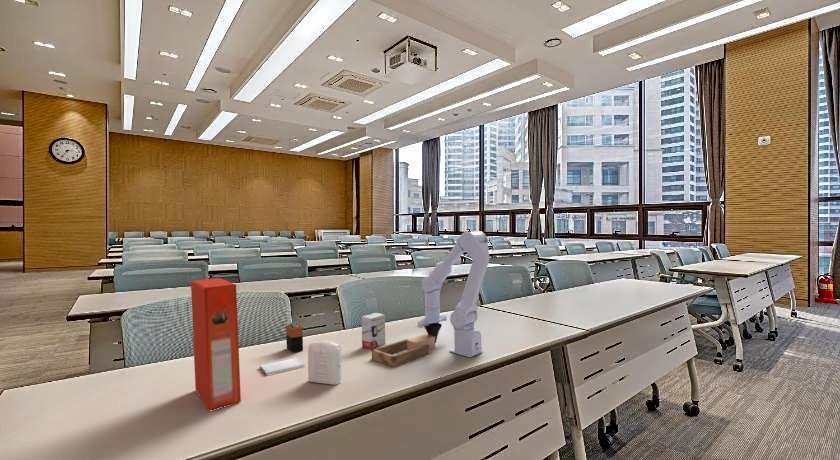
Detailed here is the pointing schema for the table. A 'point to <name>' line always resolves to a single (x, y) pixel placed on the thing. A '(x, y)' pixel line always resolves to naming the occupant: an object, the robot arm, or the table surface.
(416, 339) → the tile front
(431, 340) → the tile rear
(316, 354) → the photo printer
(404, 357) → the tray
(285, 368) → the hard drive
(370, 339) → the ink box
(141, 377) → the table surface
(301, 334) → the battery
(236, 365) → the file binder
